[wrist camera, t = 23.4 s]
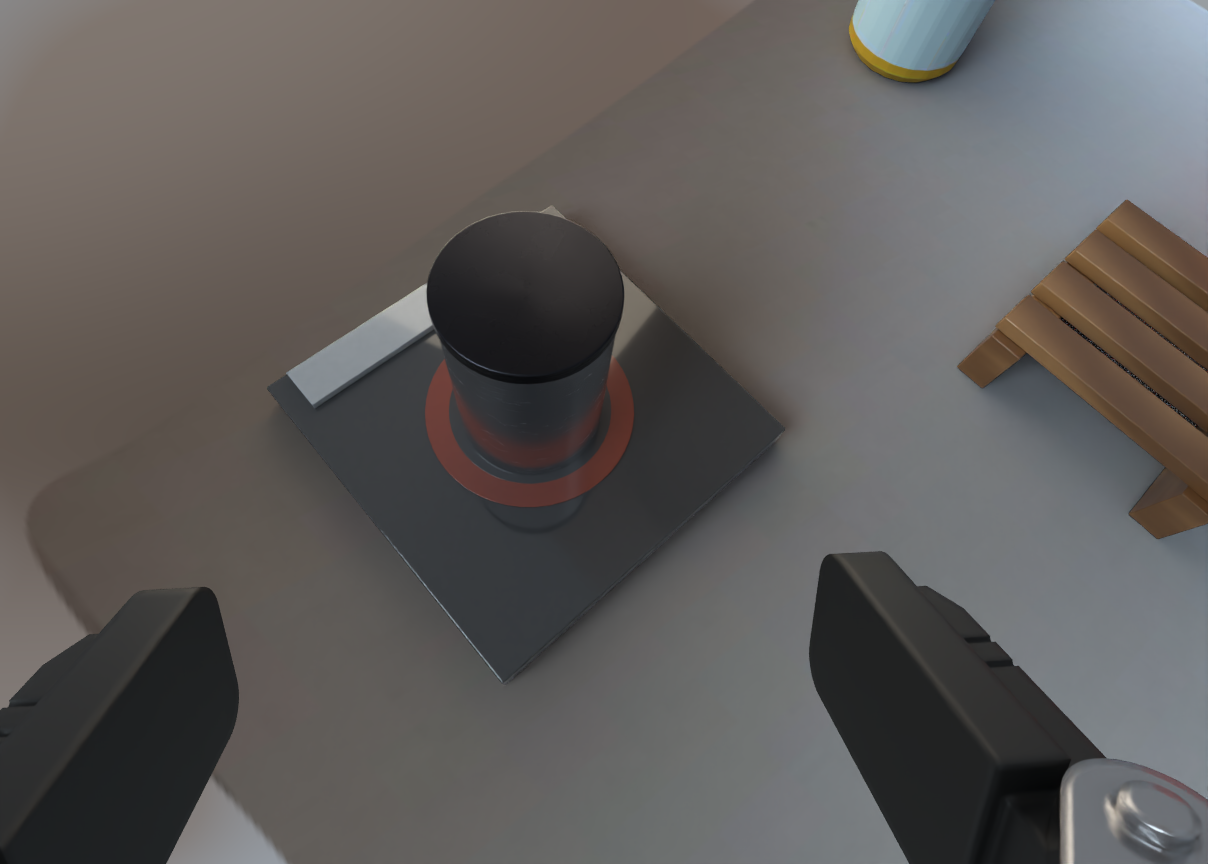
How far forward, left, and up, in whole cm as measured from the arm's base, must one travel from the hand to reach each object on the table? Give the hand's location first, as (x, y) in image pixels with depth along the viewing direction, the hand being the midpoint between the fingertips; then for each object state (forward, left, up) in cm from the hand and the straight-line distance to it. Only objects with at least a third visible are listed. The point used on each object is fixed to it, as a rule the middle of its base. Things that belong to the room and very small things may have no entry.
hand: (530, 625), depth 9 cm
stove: (-7, -9, -19) cm, 23 cm away
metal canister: (-7, -9, -18) cm, 21 cm away
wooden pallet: (-31, +8, -19) cm, 37 cm away
